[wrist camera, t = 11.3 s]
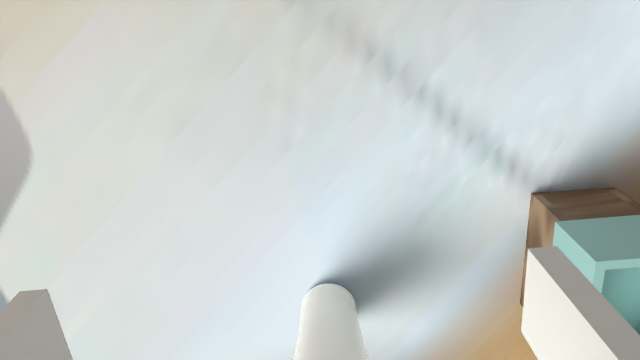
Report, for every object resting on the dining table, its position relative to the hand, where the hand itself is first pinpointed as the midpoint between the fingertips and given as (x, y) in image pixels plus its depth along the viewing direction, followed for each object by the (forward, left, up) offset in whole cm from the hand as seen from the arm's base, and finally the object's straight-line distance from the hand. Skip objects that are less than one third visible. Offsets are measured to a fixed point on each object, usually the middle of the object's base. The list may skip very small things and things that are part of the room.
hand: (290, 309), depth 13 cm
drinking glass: (+21, 0, -29) cm, 36 cm away
